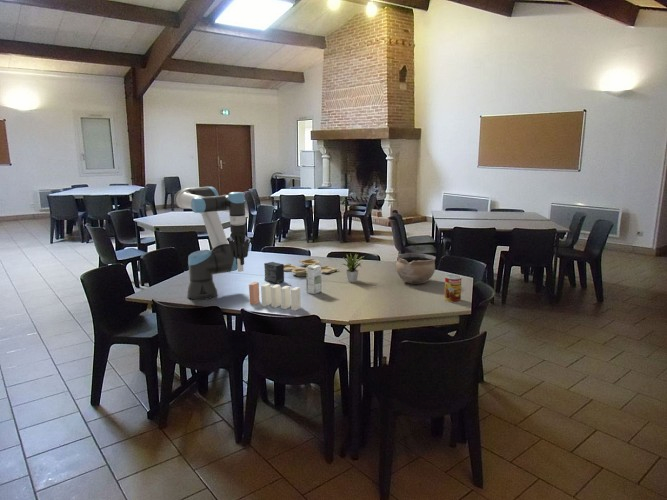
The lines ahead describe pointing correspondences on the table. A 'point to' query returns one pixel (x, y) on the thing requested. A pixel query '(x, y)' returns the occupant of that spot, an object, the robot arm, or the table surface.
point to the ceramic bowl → (415, 267)
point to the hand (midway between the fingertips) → (240, 271)
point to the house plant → (352, 268)
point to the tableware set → (302, 271)
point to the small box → (274, 272)
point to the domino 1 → (254, 292)
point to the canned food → (452, 288)
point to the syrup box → (313, 279)
